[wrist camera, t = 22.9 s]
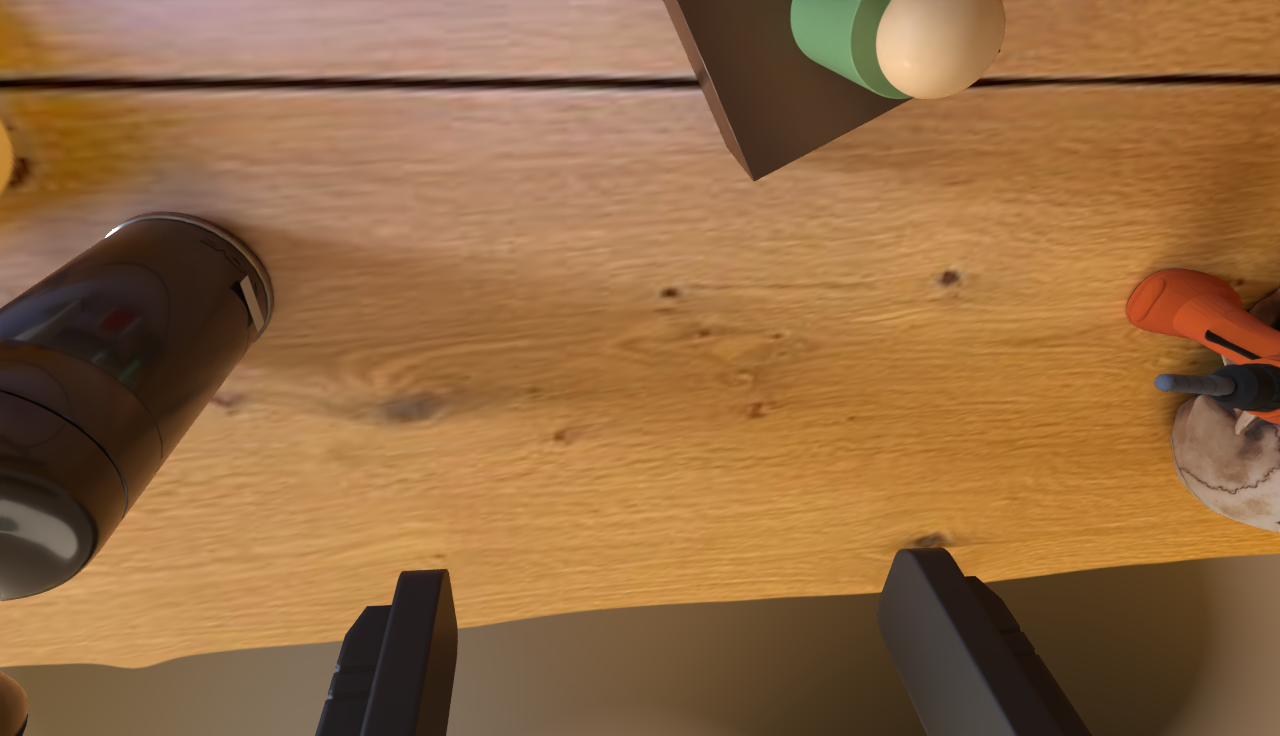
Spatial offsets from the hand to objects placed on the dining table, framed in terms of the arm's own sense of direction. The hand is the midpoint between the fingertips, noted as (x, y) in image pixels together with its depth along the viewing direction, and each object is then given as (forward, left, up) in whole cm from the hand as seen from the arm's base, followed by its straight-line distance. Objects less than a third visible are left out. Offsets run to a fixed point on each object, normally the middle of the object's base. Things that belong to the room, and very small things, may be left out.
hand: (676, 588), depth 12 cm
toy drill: (+28, -28, -32) cm, 51 cm away
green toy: (+13, +1, -26) cm, 29 cm away
